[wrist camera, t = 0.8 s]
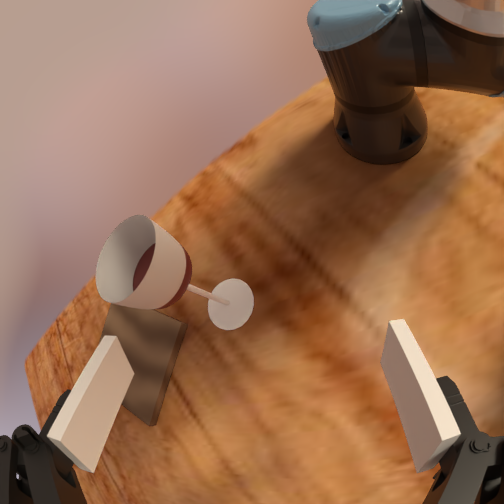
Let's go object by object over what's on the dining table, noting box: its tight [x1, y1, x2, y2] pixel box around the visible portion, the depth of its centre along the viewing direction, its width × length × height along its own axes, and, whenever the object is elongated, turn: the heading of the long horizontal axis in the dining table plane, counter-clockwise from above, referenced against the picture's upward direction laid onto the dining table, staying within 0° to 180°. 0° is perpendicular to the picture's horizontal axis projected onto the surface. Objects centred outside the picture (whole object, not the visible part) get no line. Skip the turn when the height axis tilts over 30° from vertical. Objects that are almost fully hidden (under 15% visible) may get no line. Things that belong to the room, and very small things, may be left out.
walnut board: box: [99, 303, 188, 426], centre depth 46 cm, size 18×18×2 cm
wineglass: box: [96, 215, 254, 330], centre depth 34 cm, size 8×9×20 cm
